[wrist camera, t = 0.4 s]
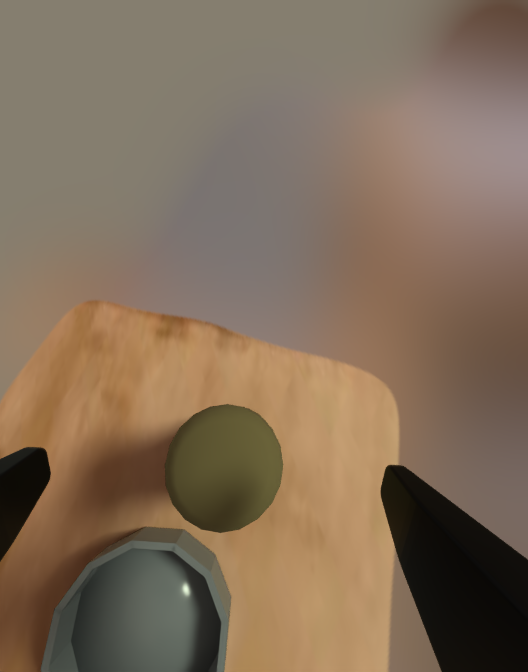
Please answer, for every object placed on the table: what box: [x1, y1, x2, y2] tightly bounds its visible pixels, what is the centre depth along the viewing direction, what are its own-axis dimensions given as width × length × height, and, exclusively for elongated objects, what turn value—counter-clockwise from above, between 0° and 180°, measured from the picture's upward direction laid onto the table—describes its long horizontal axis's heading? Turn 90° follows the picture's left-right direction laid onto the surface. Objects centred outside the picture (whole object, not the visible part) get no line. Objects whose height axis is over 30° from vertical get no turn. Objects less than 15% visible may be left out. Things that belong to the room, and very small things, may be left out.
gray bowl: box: [41, 527, 231, 672], centre depth 18 cm, size 10×10×2 cm
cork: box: [165, 404, 283, 533], centre depth 17 cm, size 6×6×11 cm
